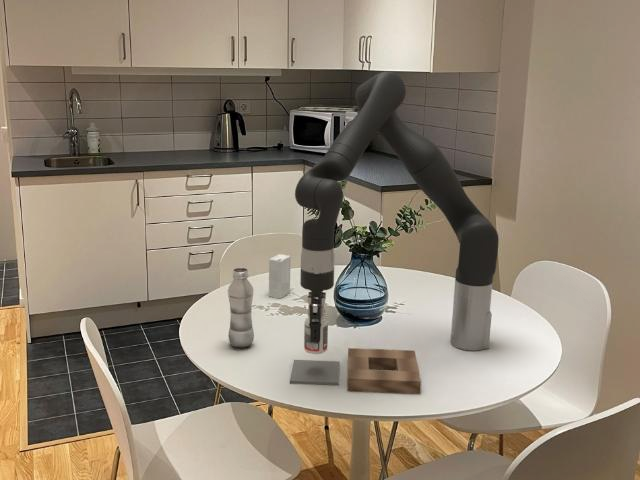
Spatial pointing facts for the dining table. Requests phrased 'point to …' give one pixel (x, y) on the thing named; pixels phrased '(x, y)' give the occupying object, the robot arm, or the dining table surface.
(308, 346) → the pill bottle
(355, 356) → the walnut dock
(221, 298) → the dining table surface
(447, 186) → the robot arm
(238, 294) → the plastic bottle
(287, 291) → the skincare box
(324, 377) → the charcoal mat
